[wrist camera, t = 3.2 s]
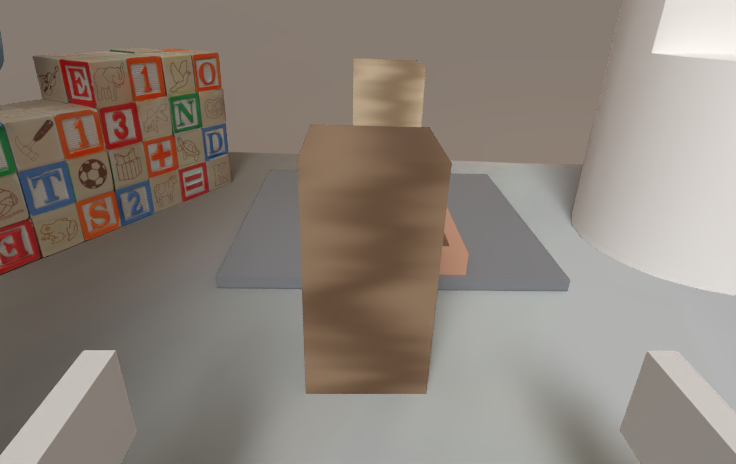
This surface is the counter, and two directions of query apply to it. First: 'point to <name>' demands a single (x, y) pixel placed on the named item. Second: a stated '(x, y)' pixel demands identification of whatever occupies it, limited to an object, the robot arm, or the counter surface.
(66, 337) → the counter surface
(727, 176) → the cylinder
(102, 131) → the stack of blocks
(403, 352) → the walnut pillar
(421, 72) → the oak pillar
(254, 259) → the board
